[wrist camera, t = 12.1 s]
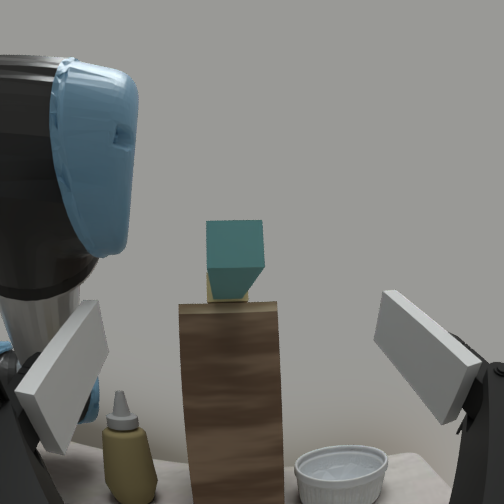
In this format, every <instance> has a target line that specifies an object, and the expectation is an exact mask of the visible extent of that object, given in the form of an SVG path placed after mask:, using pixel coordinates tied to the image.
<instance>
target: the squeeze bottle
mask: <svg viewBox="0 0 504 504" xmlns="http://www.w3.org/2000/svg"><path fill="white" fill-rule="evenodd" d="M106 418H107V426H108V427H107V428H106V429H104V430H103V431H102V440H103V459H104V472H105V482H106V484H107V486H108V487H109V489H110V490H111V492H112V494H113V495H114V497H115V498H116V500H117V501H119V502H120V503H122V504H148V503H150V502H151V501H152V500H153V498H154V494H155V490H156V485H157V481H158V479H157V475H156V472H155V468H154V464H153V460H152V456H151V452H150V448H149V444H148V440H147V436H146V432H145V431H144V430H143V429H142V428H140V427H138V426H139V422H138V416H137V415H136V414H134V413H130V411H129V408H128V405H127V401H126V398H125V395H124V392H123V391H116V392H115V399H114V407H113V413H109V414H108V415H106Z"/></svg>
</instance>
